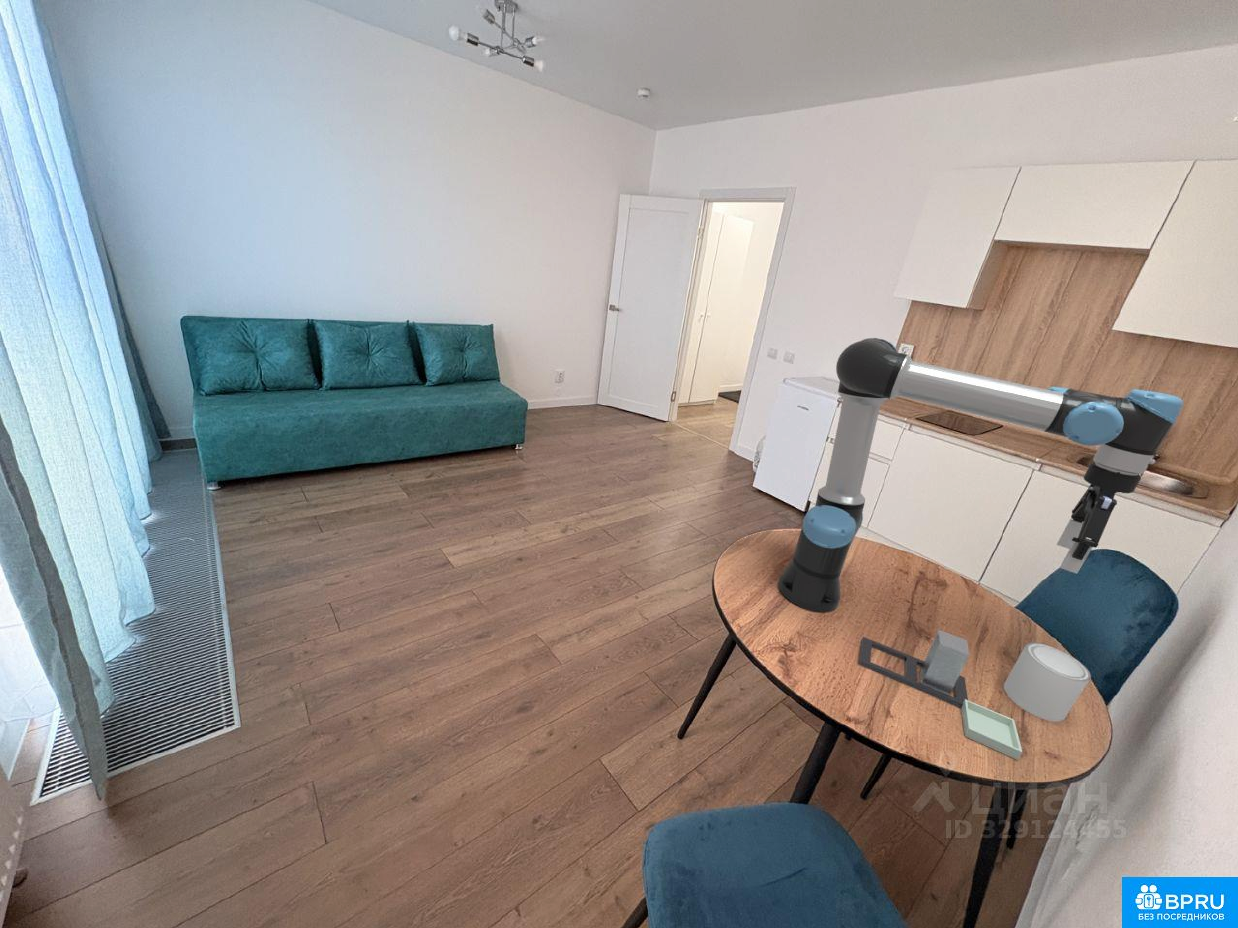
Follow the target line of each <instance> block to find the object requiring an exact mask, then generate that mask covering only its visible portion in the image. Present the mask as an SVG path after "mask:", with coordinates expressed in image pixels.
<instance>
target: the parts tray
mask: <svg viewBox="0 0 1238 928" xmlns="http://www.w3.org/2000/svg"><path fill="white" fill-rule="evenodd" d="M968 706H969V708H968ZM960 710H961V715H962V725H963V731H964V737H966V738H967V739H970V740H972V741H974V742H976V743H979V744H981V745H983V746H985V747H988V748H990V749H992V750H995V751H996V752H999V753H1001V754H1003V755H1006V756H1008V757H1010V758H1012V759H1014V760H1017V761H1018V760H1019V759H1020V757H1021V756H1022V754H1023V748H1022V746H1021V742H1020V737H1019V734H1018V729H1017V726H1016V722H1015V719H1013V718H1011V717H1008V716H1006V715H1004V714H1001V713H999V712H996V711H995V710H991V709H989V708H988V707H985V706H983V705H979V704H977V703H975V702H973V701H970V700H969V699H968V700H966V699H965V700H964V702H963V706H962V708H960Z"/></svg>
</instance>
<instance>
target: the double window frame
mask: <svg viewBox="0 0 1238 928" xmlns="http://www.w3.org/2000/svg"><path fill="white" fill-rule="evenodd" d="M872 648H873V649H876V650H878V651H881V652H884V653H886V654H888V655H891V656H893V657H896V658H898V659H901V660H904V675H902V674H900V673H897V672H895V671H893V670H890V669H888V668H885V667H884V666H881V665H878V664H876V663H874V662H871V658H872V656H871V655H872ZM859 649H860V651H859V657H858V665H860V666H862V667H865V668H867V669H870V670H871V671H874V672H876V673H879V674H880V675H884V676H885V677H888V678H890V679H892V680H895V681H897V682H900V683H901V684H904V685H906V686H909V687H911V688H913V689H916V690H918V691H921V692H923V693H924V694H927V695H930V696H932V697H934V698H937V699H939V700H942V701H943V702H946V703H949V704H950V705H953V706H955V707H958V708H960V709H961V708H962V706H963V702H964V700H965V699H966V700H968V701H969V697H968V691H967V685H966V678H965V676H962V675H961V674H960V675H959V677H958V679H957V681H956V683H955V685H954V687H953V689H952V691H953V696H952V695H947V694H945V693H943V692H940V691H938V690H935V689H933V688H931V687H928V686H926V685H924V684H921V682H918V667H922V665H923V663H924V661H925V660H922V659H919V658H917V657H915V656H913V655H911V654H907V653H905V652H902V651H900V650H897V649H895V648H893V647H890V646H887V645H885V644H882V643H880V642H877V641H875V640H873V639H870V638H868V637H865V636H862V637H861V642H860V648H859ZM968 708H969V706H968Z"/></svg>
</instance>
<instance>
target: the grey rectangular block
mask: <svg viewBox="0 0 1238 928" xmlns="http://www.w3.org/2000/svg"><path fill="white" fill-rule="evenodd" d="M969 656H970V650H969V644H968V640H967V639H964V638H962V637H959V636H957V635H953V634H952V633H948V632H945V631H943V630H940V629H938V631H937V632H936V635H935V637H934V639H933V642H932V643H931V646H930V648H929V650H928V651H927V654H926V656H925V659H924V660H923V661H924V663H923V665H922V667H921V668H920V683H921V684H924V685H926V686H928V687H931V688H933V689H935V690H938V691H940V692H943V693H945V694H947V695H950V694H951V693H952V691H953V687H954V685H955V683H956V681H957V679H958V677H959V675H960V676H961V673H962V671H963V669H964V667H965V666H966V663H967V661H968V660H969ZM950 696H951V695H950Z"/></svg>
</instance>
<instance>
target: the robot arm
mask: <svg viewBox="0 0 1238 928" xmlns="http://www.w3.org/2000/svg"><path fill="white" fill-rule="evenodd" d="M835 367H836V368H835V369H836V370H835V371H836V375H837V378H838V380H839V385H838V388H837V393H838V395H840V397H841V398H842V403H841V407H840V411H839V412H840V413H839V418H838V423H837V428H836V433H835V438H834V442H833V446H832V447H833V448H832V450H831V451H832V452H831V457H830V462H829V467H828V472H827V477H826V483H825V486H822V487H820V488H819V489H818V491H817V495H816V501H815V505H814V506H813V507H811V508H810V509H809V510H807V512H806V513H805V516H804V517H803V520H802V525H801V530H800V533H799V537H798V540H797V543H796V547H795V550H794V553H793V556H792V557H793V558H792V560H791V562H790V563H789V564H788V566H786V568H785V569H784V571H782V573H781V575H780V576H779V580H778V583H779V584H778V585H777V586H779V587H778V589H780V590H781V592H782V593H783V594H782V593H781V592H780V593H781V594H782V596H783V595H784V596H785V597H786V598H785V597H784V596H783V597H784V598H785V599H786V600H788V599H789V600H790V601H791V602H790V601H789V600H788V601H789V602H790V603H792V602H793V603H792V604H794V605H795V604H796V605H795V606H797V607H800V608H802V609H805V610H807V611H812V612H816V613H829V612H832V611H834V610H835V609H837V608H838V606H839V603H840V600H841V582H840V576H841V573H842V570H843V568H844V564H845V561H846V559H847V556H848V553H849V550H850V547H851V546H852V543H853V541H854V540H855V537H856V535H857V533H858V531H859V529H860V528H861V527H862V524H863V519H864V517H863V516H864V514H863V512H864V507H865V503H866V498H865V497H864V495H863V494H862V492H861V491H862V487H863V482H864V478H865V474H866V469H867V466H868V465H867V464H868V461H869V456H870V453H871V452H870V451H871V449H872V448H871V447H872V443H873V438H874V435H875V431H876V425H877V422H878V418H879V413H880V409H881V408H880V407H881V404H883V403H884V402H886V401H887V400H889V399H890V400H893V399H895V398H897V397H902V398H905V399H910V400H913V401H918V402H921V403H922V402H923V403H927V404H930V405H935V406H938V407H939V406H940V407H943V408H947V409H951V410H954V411H959V412H962V413H963V412H964V413H968V414H970V415H971V414H972V415H975V416H976V415H977V416H980V417H984V418H988V419H992V420H996V421H1000V422H1005V423H1008V424H1013V425H1017V426H1021V427H1026V428H1028V429H1033V430H1038V431H1041V432H1045V433H1048V434H1051V435H1056V436H1061V437H1064V438H1067V439H1068V440H1070V441H1071V442H1073V443H1076V444H1079V445H1082V446H1088V447H1089V446H1091V447H1094V446H1099V447H1098V448H1097V451H1096V452H1095V454H1094V456H1093V458H1092V460H1093V462H1092V463H1090V464H1089V466H1088V468H1087V470H1086V472H1085V474H1084V476H1083V480H1084V481H1085V482H1087V483H1088V484H1090V485H1089V487H1087V489H1086V490H1085V492H1084V493H1083V495H1082V496H1081V498H1080V500H1079V501H1078V502H1077V504H1076V505H1075V506H1074V508H1073V509H1071V517H1070V518H1071V519H1069V521H1068V523H1067V524H1066V526H1065V528H1064V529H1063V531H1062V533H1061V535H1060V537H1059V539H1058V541H1057V543H1056V545H1057V546H1060V547H1062V548H1065V549H1068V551H1067V553H1066V555H1065V557H1064V558H1063V560H1062V562H1061V564H1060V565H1059V569H1063V570H1064V571H1067V572H1071V573H1074V574H1076V575H1077V574H1078V573H1079V571H1080V569H1081V568H1082V567H1083V564H1084V563H1085V562H1086V559H1088V556H1089V554H1090V552H1091V551H1092V550H1093V548H1094V549H1095V548H1097V547H1098V546H1099V542H1100V540H1101V538H1102V536H1103V534H1104V531H1105V529H1106V527H1107V524H1108V521H1109V519H1110V517H1111V515H1112V513H1113V511H1114V508H1115V507H1116V506H1117V504H1118V500H1116V499H1114V498H1115V494H1117V493H1121V494H1131V493H1133V492H1135V490H1136V488H1137V486H1138V485H1139V483H1140V482H1141V480H1142V477H1141V474H1144V473H1145V472H1146V470H1147V469H1148V466H1149V465H1154V464H1155V463H1156V460H1155V459H1154V456H1155V455H1156V453H1157V451H1158V450H1159V448H1160V447H1161V444H1163V442H1164V440H1165V439H1166V437H1167V435H1168V434H1169V432H1170V431H1171V429H1172V428H1173V426H1174V425H1175V424H1176V421H1177V418H1178V417H1179V415H1180V412H1181V411H1182V408H1183V406H1184V401H1183V399H1182V398H1180V397H1179V396H1177V395H1173V394H1168V393H1162V392H1159V391H1158V392H1157V391H1151V390H1143V389H1137V388H1136V389H1132V390H1130V391H1129V392H1128V394H1127V395H1125V396H1124V397H1119V396H1110V395H1106V394H1098V393H1095V392H1088V391H1083V390H1078V389H1073V388H1071V387H1059V386H1051V387H1048V388H1047V389H1046V388H1040V387H1036V386H1031V385H1027V384H1021V383H1017V382H1012V381H1008V380H1002V379H997V378H993V377H989V376H984V375H981V374H979V375H978V374H975V373H971V372H966V371H961V370H957V369H951V368H948V367H947V368H946V367H942V366H938V365H933V364H928V363H923V362H919V361H915V360H913V359H912V357H911V356H910V354H907V353H902V352H899V351H898V350H897V348H896V347H895V345H894V344H892V343H891V342H890V341H888V340H886V339H883V338H877V337H873V338H872V337H868V338H864V339H862V340H859V341H856V342H854V343H852V344H850V345H848V346H847V347H846V348H844V350H843V351H842V352H841V354H839V356H838V358H837V360H836V365H835ZM780 590H779V591H780Z"/></svg>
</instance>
